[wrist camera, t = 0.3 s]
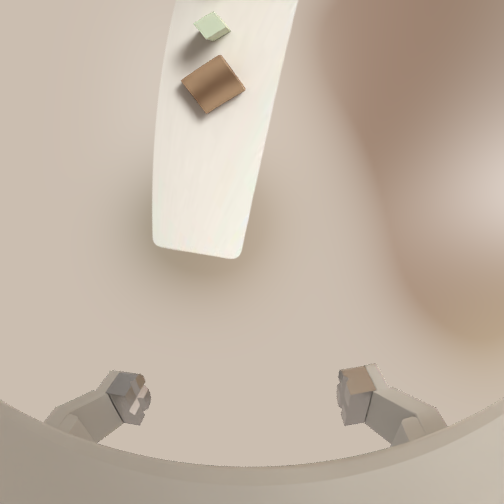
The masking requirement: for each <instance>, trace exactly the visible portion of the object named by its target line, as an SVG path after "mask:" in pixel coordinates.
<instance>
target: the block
mask: <svg viewBox="0 0 504 504" xmlns="http://www.w3.org/2000/svg"><path fill="white" fill-rule="evenodd" d="M194 25H195V26H196V28H197V29H198V30H199V31H200V32H201V34H202V35H203V36H204V37H205V39H207V40H211V41H215V40H217V39H218V38H220V37H222V36H223V35H225V34H227V33H228V32H230V31H231V30H230V29H229V28H228V27H227V25H226V24H225V23H224V22H223V20H222V19H221V18H220V17H219V16H218V15H217V14H216V13H214V12H211V13H210V14H208V15H206V16H205V17H203V18H201V19H200V20H198V21H197V22H195V23H194Z"/></svg>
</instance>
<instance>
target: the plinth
mask: <svg viewBox="0 0 504 504" xmlns="http://www.w3.org/2000/svg"><path fill="white" fill-rule="evenodd" d="M181 82H182V83H183V84H184V85H185V87H186V88H187V89H188V91H189V92H190V93H191V95H192V96H193V97H194V98H195V100H196V101H197V102H198V104H199V105H200V106H201V108H202V109H203V110H204V112H205V113H206V114H207V113H209V112H210V111H212V110H214V109H215V108H217V107H218V106H220V105H221V104H223V103H225V102H226V101H228V100H230V99H231V98H233V97H235V96H236V95H238V94H240V93H241V92H243V91H245V87H244V86H243V84H242V83H241V82H240V80H239V79H238V77H237V76H236V75H235V73H234V72H233V70H232V69H231V68H230V66H229V65H228V64H227V62H226V61H225V60H224V58H223V57H222V56H221V55H218V56H217V57H215V58H213V59H212V60H210V61H209V62H207V63H206V64H204V65H203V66H201V67H200V68H198V69H197V70H195V71H194V72H192V73H191V74H189V75H188V76H187V77H185V78H184V79H182V80H181Z"/></svg>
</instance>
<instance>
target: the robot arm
mask: <svg viewBox="0 0 504 504" xmlns="http://www.w3.org/2000/svg"><path fill="white" fill-rule="evenodd" d="M338 378H339V381H340V383H339V384H338V385H337V400H338V405H339V407H340V408H342V412H341V416H342V419H343V423H344V425H345V426H346V425H352V424H358V423H364V422H365V424H366V425H368V426H369V427H370V428H371V429H373V430H374V431H375V432H376V433H378V434H379V435H380V436H382V437H383V438H384V439H385V440H387V441H388V442H389V443H391V446H390V447H389V448H386V449H382V450H378V451H374V452H371V453H367V454H362V455H357V456H353V457H347V458H342V459H337V460H330V461H324V462H316V463H308V464H298V465H287V466H267V467H231V466H213V465H201V464H192V463H184V462H176V461H170V460H163V459H158V458H152V457H147V456H143V455H138V454H134V453H129V452H126V451H122V450H118V449H114V448H111V447H107V446H104V445H101V444H97V443H98V442H99V441H100V440H102V439H103V438H104V437H106V436H107V435H109V434H110V433H111V432H113V431H114V430H115V429H117V428H118V427H119V426H121V425H122V424H123V423H128V424H134V425H140V423H141V422H142V420H143V418H144V415H145V414H144V412H143V411H145V410H146V409H148V407H149V405H150V400H151V396H150V392H149V389H148V388H147V387H146V386H145V385H144V383H145V379H144V377H143V375H141V374H136V373H129V372H121V371H114V370H112V371H110V372H109V374H108V375H107V376H106V378H105V379H104V380H103V382H102V383H101V384H100V386H99V387H98V388H97V390H96V391H94V390H93V391H91V392H88V393H86V394H84V395H82V396H80V397H78V398H76V399H74V400H71V401H69V402H67V403H65V404H63V405H60V406H58V407H56V408H55V409H54V410H53V411H52V412H51V414H50V415H49V416H48V417H47V419H46V420H45V421H44V422H41V421H39V420H37V419H35V418H32V417H31V416H28V415H27V414H25V413H23V412H21V411H19V410H17V409H15V408H14V407H12V406H10V405H8V404H7V403H5V402H4V401H2V400H0V504H504V398H502V399H500V400H499V401H497V402H495V403H494V404H492V405H490V406H488V407H487V408H485V409H483V410H481V411H479V412H478V413H475V414H474V415H472V416H470V417H468V418H466V419H464V420H461V421H459V422H457V423H455V424H453V425H451V426H447V425H446V423H445V421H444V420H443V418H442V416H441V415H440V413H439V412H438V410H437V409H436V407H434V406H431V405H429V404H427V403H425V402H422V401H421V400H419V399H416V398H414V397H412V396H410V395H408V394H406V393H404V392H402V391H400V390H398V389H396V388H394V387H389V386H388V384H387V382H386V381H385V379H384V377H383V375H382V373H381V371H380V370H379V368H378V366H377V364H369V365H364V366H360V367H355V368H349V369H342V370H340V371H339V376H338Z"/></svg>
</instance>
